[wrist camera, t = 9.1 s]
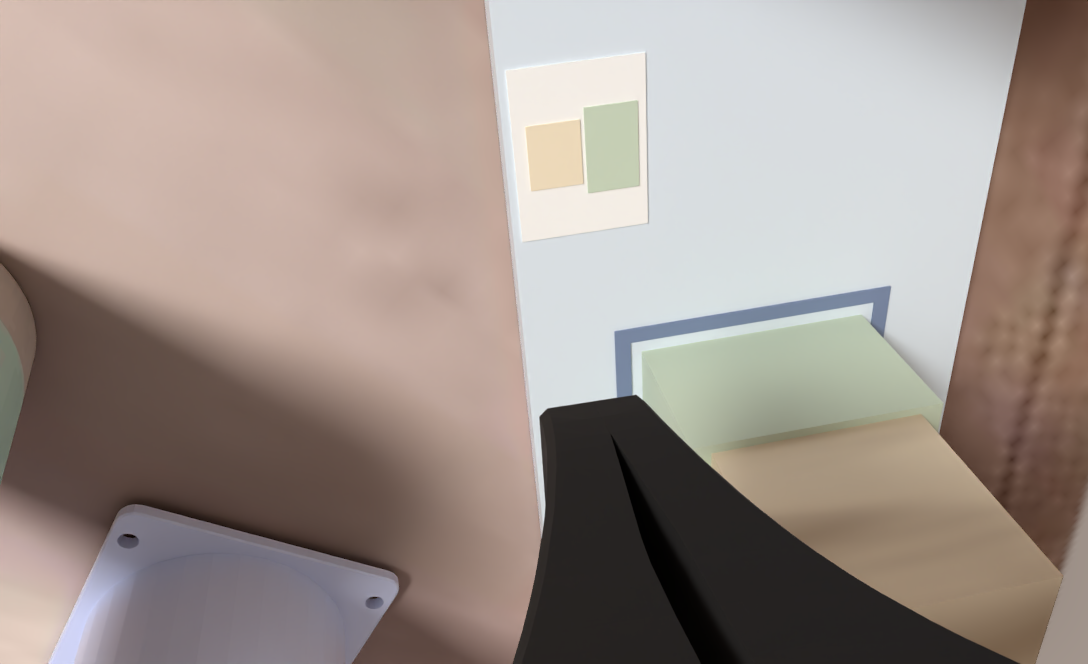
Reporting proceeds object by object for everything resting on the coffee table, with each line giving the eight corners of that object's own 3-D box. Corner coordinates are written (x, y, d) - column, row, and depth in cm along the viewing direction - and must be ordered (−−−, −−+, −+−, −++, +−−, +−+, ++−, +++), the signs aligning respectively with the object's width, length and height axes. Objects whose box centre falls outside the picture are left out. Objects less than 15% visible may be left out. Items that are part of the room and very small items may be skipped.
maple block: (894, 566, 24) (1011, 738, 20) (708, 605, 23) (787, 790, 19) (921, 414, 21) (1063, 576, 17) (711, 453, 21) (805, 630, 16)
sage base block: (839, 484, 28) (907, 584, 24) (645, 521, 27) (687, 629, 24) (861, 314, 24) (943, 403, 21) (641, 351, 24) (690, 449, 20)
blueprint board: (908, 505, 30) (923, 525, 29) (545, 576, 29) (550, 598, 28) (1022, -100, 20) (1048, -95, 19) (480, -37, 19) (486, -29, 18)
